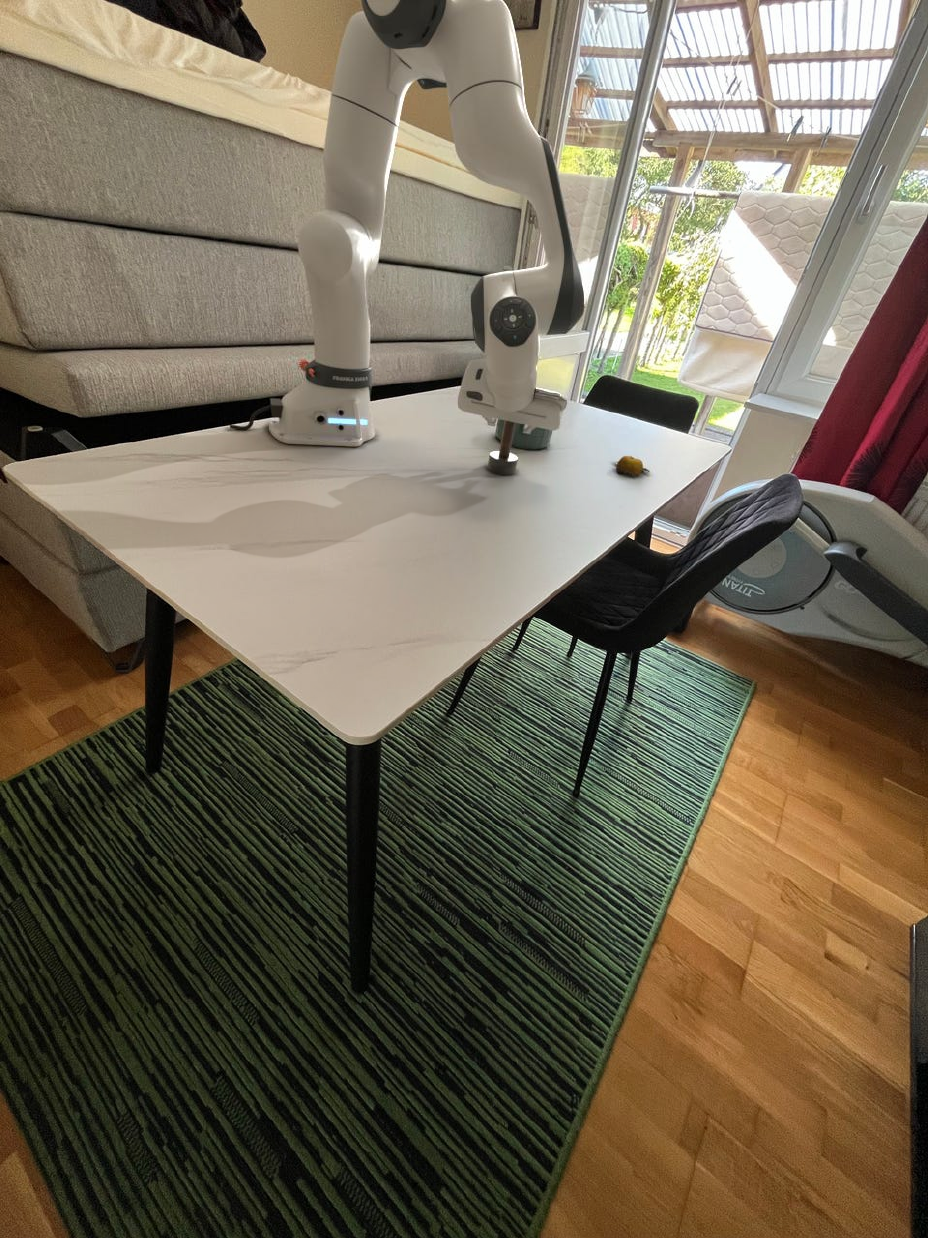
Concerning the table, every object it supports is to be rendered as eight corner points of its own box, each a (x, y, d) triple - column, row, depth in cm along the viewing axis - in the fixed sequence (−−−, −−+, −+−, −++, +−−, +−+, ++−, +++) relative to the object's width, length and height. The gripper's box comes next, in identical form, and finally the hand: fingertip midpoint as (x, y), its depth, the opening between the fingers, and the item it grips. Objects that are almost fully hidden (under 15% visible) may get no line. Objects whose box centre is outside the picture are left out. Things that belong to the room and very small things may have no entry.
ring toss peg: (496, 475, 107) (511, 394, 97) (482, 465, 111) (495, 385, 101) (520, 474, 109) (537, 395, 100) (506, 463, 113) (520, 386, 104)
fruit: (649, 472, 122) (655, 457, 120) (642, 481, 116) (647, 465, 114) (616, 462, 125) (621, 447, 123) (607, 471, 119) (611, 455, 117)
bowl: (512, 451, 121) (518, 425, 117) (485, 432, 130) (489, 407, 127) (559, 449, 127) (565, 424, 123) (529, 431, 136) (534, 407, 133)
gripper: (572, 380, 91) (563, 423, 104) (461, 358, 93) (466, 402, 107) (564, 412, 90) (555, 451, 104) (451, 388, 92) (458, 430, 106)
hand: (509, 426), depth 105 cm, fingers open, 6 cm apart
